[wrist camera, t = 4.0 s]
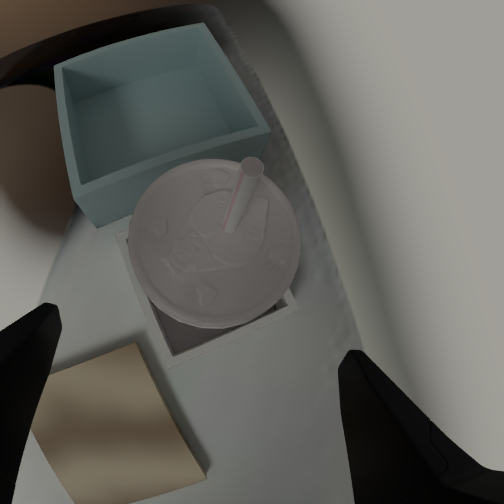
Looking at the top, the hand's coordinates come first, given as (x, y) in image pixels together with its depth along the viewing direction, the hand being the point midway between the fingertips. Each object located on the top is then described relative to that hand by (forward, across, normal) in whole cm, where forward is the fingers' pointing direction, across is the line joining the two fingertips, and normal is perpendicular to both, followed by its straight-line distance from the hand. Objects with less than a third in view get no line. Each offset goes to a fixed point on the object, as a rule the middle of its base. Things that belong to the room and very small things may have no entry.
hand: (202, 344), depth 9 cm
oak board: (+2, +5, +13) cm, 14 cm away
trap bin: (+18, +6, -2) cm, 19 cm away
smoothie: (+10, 0, +5) cm, 12 cm away
